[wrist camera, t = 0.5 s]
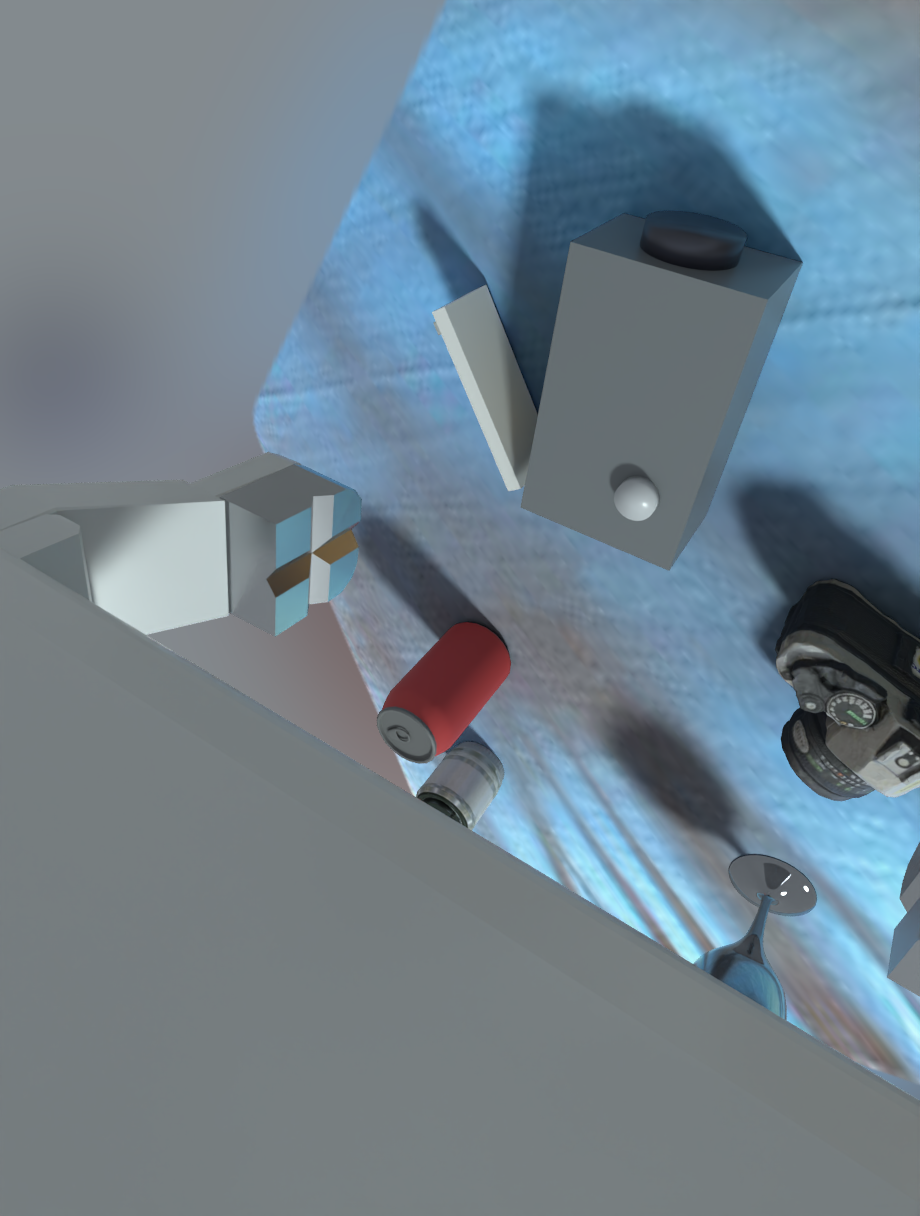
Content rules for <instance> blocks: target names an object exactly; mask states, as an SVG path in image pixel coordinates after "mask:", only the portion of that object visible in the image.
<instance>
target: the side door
mask: <svg viewBox="0 0 920 1216" xmlns="http://www.w3.org/2000/svg"><path fill="white" fill-rule="evenodd" d="M432 313H433V316H434V318H435V320H436V322H434V325H435V328H436V330H437V332H438V335H442V337H443V339H444V342H445V344H446V346H447V349H448V351H449V353H450V356H451V358H452V360H453V363H454V365H455V367H456V370H457V372H458V374H459V377H460V379H461V381H462V384H463V386H464V388H465V391H466V393H467V396H468V398H469V400H470V403H471V405H472V407H473V410H474V412H475V414H476V417H477V419H478V421H479V424H480V426H481V428H482V431H483V433H484V435H485V438H486V440H487V442H488V445H489V447H490V449H491V452H492V454H493V456H494V459H495V461H496V464H497V466H498V468H499V471H500V473H501V475H502V478H503V480H504V482H505V485H506V487H507V489H508V491H512V490H517V489H521V488H522V487H523V486H524V485H525V481H526V476H527V471H528V465H529V460H530V455H531V449H532V444H533V439H534V433H535V428H536V423H537V417H538V414H537V412H536V409H535V407H534V404H533V402H532V399H531V396H530V394H529V391H528V389H527V386H526V384H525V381H524V379H523V376H522V374H521V371H520V369H519V366H518V364H517V361H516V359H515V356H514V353H513V351H512V348H511V346H510V343H509V341H508V338H507V336H506V333H505V331H504V328H503V326H502V323H501V321H500V318H499V316H498V313H497V311H496V308H495V305H494V303H493V300H492V298H491V295H490V293H489V290H488V288H487V285H484V286H482V287H480V288H477V289H475V290H473V291H471V292H469V293H468V294H466V295H464V296H462V297H460V298H458V299H456V300H454V301H452V302H450V303H449V304H447V305H445V306H443V307H441V308H439V309H437V310H435V311H433V312H432Z"/></svg>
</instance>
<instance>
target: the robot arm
mask: <svg viewBox="0 0 920 1216" xmlns="http://www.w3.org/2000/svg"><path fill="white" fill-rule="evenodd" d="M361 502H362V499H361V498H360V496H359V495H358V493H357V492H356V490H354V489H352V488H350V487H348V486H346V485H344V484H342V483H339V482H337V481H335V480H333V479H331V478H329V477H327V476H325V475H323V474H320V473H318V472H316V471H314V470H312V469H310V468H308V467H306V466H302V465H301V464H299V463H298V462H295V461H293V460H291V459H288V458H286V457H284V456H281V455H279V454H275V453H270V452H267V453H265V454H262V455H260V456H257V457H255V458H253V459H250V460H247V461H245V462H242V463H240V464H237V465H235V466H232V467H230V468H227V469H225V470H223V471H220V472H218V473H215V474H213V475H210V476H208V477H205V478H203V479H200V480H198V481H195V482H193V483H188V482H185V481H183V480H165V481H134V482H100V483H71V484H70V483H68V484H37V485H11V486H8V487H5V488H2V489H0V1216H920V1100H918V1099H916V1098H915V1097H913V1096H911V1095H909V1094H908V1093H906V1092H905V1091H903V1090H901V1089H900V1088H898V1087H896V1086H895V1085H893V1084H891V1083H890V1082H888V1081H886V1080H884V1079H883V1078H881V1077H880V1076H878V1075H876V1074H875V1073H873V1072H871V1071H870V1070H868V1069H866V1068H865V1067H863V1066H861V1065H859V1064H858V1063H856V1062H854V1061H853V1060H851V1059H849V1058H848V1057H846V1056H844V1055H843V1054H841V1053H839V1052H838V1051H836V1050H834V1049H833V1048H831V1047H829V1046H828V1045H826V1044H824V1043H823V1042H821V1041H819V1040H818V1039H816V1038H814V1037H813V1036H811V1035H809V1034H808V1033H806V1032H804V1031H803V1030H801V1029H799V1028H798V1027H796V1026H794V1025H793V1024H791V1023H790V1022H788V1021H786V1020H785V1019H783V1018H781V1017H780V1016H778V1015H776V1014H775V1013H773V1012H771V1011H770V1010H768V1009H766V1008H765V1007H763V1006H761V1005H760V1004H758V1003H756V1002H755V1001H753V1000H751V999H750V998H748V997H746V996H745V995H743V994H742V993H740V992H738V991H737V990H735V989H733V988H732V987H730V986H728V985H727V984H725V983H723V982H722V981H720V980H718V979H717V978H715V977H713V976H712V975H710V974H708V973H707V972H705V971H703V970H702V969H700V968H698V967H697V966H695V965H693V964H692V963H690V962H689V961H687V960H685V959H684V958H682V957H680V956H679V955H677V954H675V953H674V952H672V951H670V950H669V949H667V948H665V947H664V946H662V945H660V944H659V943H657V942H655V941H654V940H652V939H650V938H649V937H647V936H645V935H644V934H642V933H640V932H639V931H637V930H636V929H634V928H632V927H631V926H629V925H627V924H626V923H624V922H622V921H621V920H619V919H617V918H616V917H614V916H612V915H611V914H609V913H607V912H606V911H604V910H602V909H601V908H599V907H597V906H596V905H594V904H592V903H591V902H589V901H588V900H586V899H584V898H583V897H581V896H579V895H578V894H576V893H574V892H573V891H571V890H569V889H568V888H566V887H564V886H563V885H561V884H559V883H558V882H556V881H554V880H553V879H551V878H549V877H548V876H546V875H544V874H543V873H541V872H539V871H538V870H536V869H535V868H533V867H531V866H530V865H528V864H526V863H525V862H523V861H521V860H520V859H518V858H516V857H515V856H513V855H511V854H510V853H508V852H506V851H505V850H503V849H501V848H500V847H498V846H496V845H495V844H493V843H491V842H490V841H488V840H486V839H485V838H483V837H481V836H480V835H478V834H476V833H475V832H473V831H471V830H470V829H468V828H466V827H465V826H463V825H461V824H460V823H458V822H456V821H455V820H453V819H451V818H450V817H448V816H446V815H445V814H443V813H441V812H440V811H438V810H436V809H435V808H433V807H431V806H430V805H428V804H426V803H425V802H423V801H421V800H420V799H418V798H416V797H415V796H413V795H411V794H410V793H408V792H406V791H405V790H403V789H401V788H400V787H398V786H396V785H395V784H393V783H391V782H390V781H388V780H386V779H384V778H383V777H381V776H380V775H378V774H376V773H375V772H373V771H371V770H369V769H368V768H366V767H365V766H363V765H361V764H360V763H358V762H356V761H355V760H353V759H351V758H350V757H348V756H346V755H345V754H343V753H341V752H340V751H338V750H336V749H335V748H333V747H331V746H330V745H328V744H326V743H325V742H323V741H322V740H320V739H318V738H316V737H315V736H313V735H311V734H310V733H308V732H306V731H305V730H303V729H301V728H300V727H298V726H297V725H295V724H293V723H291V722H290V721H288V720H286V719H285V718H283V717H281V716H280V715H278V714H277V713H275V712H273V711H272V710H270V709H268V708H266V707H265V706H263V705H262V704H260V703H258V702H257V701H255V700H253V699H252V698H250V697H248V696H246V695H245V694H243V693H242V692H240V691H238V690H237V689H235V688H233V687H232V686H230V685H228V684H227V683H225V682H223V681H222V680H220V679H219V678H217V677H215V676H214V675H212V674H210V673H209V672H207V671H205V670H204V669H202V668H200V667H199V666H197V665H195V664H194V663H192V662H190V661H188V660H187V659H185V658H184V657H182V656H180V655H179V654H177V653H175V652H174V651H172V650H170V649H169V648H167V647H165V646H164V645H162V644H160V643H159V642H157V641H155V640H154V639H152V638H151V637H149V636H147V634H152V633H156V632H160V631H165V630H169V629H173V628H177V627H182V626H186V625H190V624H195V623H199V622H203V621H207V620H212V619H216V618H221V617H225V616H228V615H229V613H230V614H232V615H234V616H236V617H238V618H240V619H242V620H244V621H246V622H248V623H250V624H252V625H254V626H256V627H257V628H259V629H262V630H263V631H265V632H267V633H269V634H271V635H273V636H277V635H278V634H280V633H281V632H283V631H285V630H286V629H288V628H289V627H290V626H292V625H294V624H295V623H297V622H298V621H300V620H301V619H303V618H304V617H306V616H307V614H308V608H309V604H316V603H323V602H329V601H330V600H331V599H333V598H334V597H336V596H337V595H338V594H340V593H341V592H342V591H343V589H344V588H345V587H346V585H347V584H348V582H349V581H350V580H351V578H352V576H353V573H354V570H355V567H356V564H357V559H358V549H359V547H358V544H357V542H356V540H355V537H354V535H353V533H352V530H351V529H352V528H354V527H355V526H356V525H357V524H358V523H359V522H360V521H361ZM900 900H901V902H902V904H903V906H904V907H905V909H906V911H907V914H906V915H905V916H904V918H903V919H902V920H901V921H900V923H899V924H898V925H897V926H896V928H895V929H894V935H893V942H892V948H891V955H890V961H889V968H888V974H887V978H889V979H891V980H892V981H894V982H896V983H898V984H899V985H901V986H903V987H904V988H906V989H908V990H910V991H911V992H913V993H915V994H916V995H918V996H920V843H919V844H918V846H917V848H916V850H915V852H914V854H913V856H912V858H911V860H910V862H909V864H908V867H907V870H906V873H905V876H904V879H903V883H902V888H901V893H900Z"/></svg>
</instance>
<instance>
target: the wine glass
mask: <svg viewBox="0 0 920 1216" xmlns="http://www.w3.org/2000/svg"><path fill="white" fill-rule="evenodd" d="M729 877H730V880H731V883H732V884H733V886H734V888H735V889H736V890H737V891H738V893H739V894H740V895H741V896H743V897H744V898H745V899H746V900H747V901H749V902H750V903H752V904H753V905H755V906H757V907H759V909H758V912H757V914H756V917H755V919H754V921H753V923H752V925H751V927H750V928H749V930H748V932H747V933H746V935H745V936H744V937H743V938H742V939H740V940H739V941H737V942H735V943H733V944H729V945H726V946H723V947H719V948H715V949H713V950H710V951H708V952H706V953H704V954H703V955H702V956H701V957H700V958H699V959H698V960H697V961H696V962H695V963H694V964H693V965H695V966H697V967H698V968H700V969H702V970H703V971H705V972H707V973H708V974H710V975H712V976H713V977H715V978H717V979H718V980H720V981H722V982H723V983H725V984H727V985H728V986H730V987H732V988H733V989H735V990H737V991H738V992H740V993H742V994H743V995H745V996H746V997H748V998H750V999H751V1000H753V1001H755V1002H756V1003H758V1004H760V1005H761V1006H763V1007H765V1008H766V1009H768V1010H770V1011H771V1012H773V1013H775V1014H776V1015H778V1016H780V1017H781V1018H783V1019H785V1020H786V1000H785V993H784V990H783V988H782V985H781V983H780V980H779V979H778V977H777V975H776V973H775V972H774V970H773V968H772V966H771V965H770V963H769V961H768V959H767V957H766V955H765V952H764V948H763V936H764V929H765V923H766V919H767V915H768V912H770V913H774V914H777V915H782V916H800V915H804V914H806V913H808V912H810V911H811V910H812V909H813V908H814V907H815V905H816V902H817V895H816V892H815V889H814V887H813V885H812V884H811V882H810V881H809V880H808V879H807V878H806V877H805V876H804V875H803V874H802V873H801V872H800V871H798V870H797V869H795V868H794V867H792V866H791V865H789V864H787V863H785V862H783V861H781V860H778V859H775V858H772V857H768V856H764V855H745V856H741V857H739V858H737V859H735V860H734V861H733V862H732V863H731V865H730V867H729Z"/></svg>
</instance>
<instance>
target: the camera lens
mask: <svg viewBox="0 0 920 1216" xmlns="http://www.w3.org/2000/svg"><path fill="white" fill-rule="evenodd" d="M503 778H504V769H503V766H502V764H501V762H500V760H499V759H498V758H497V757H496V755H495V754H494V753H493V752H491V751H490V750H489V749H487V748H486V747H484V746H483V745H480V744H478V743H475V742H463V743H460V744H459V745H458V746H457V747H455V748H453V749H452V750H451V751H450V752H449V753H448V754H447V755H446V756H445V757H444V758H443V760H442V762H441V763H440V764H439V765H438V766H437V768H436V769H435V770H434V772H433V773H432V774H431V775H430V777H429V778H428V779H427V781H426V782H425V783H424V784H423V786H421V788H420V789H419V790H418V792H417V795H416V798H418V799H420V800H421V801H423V802H425V803H426V804H428V805H430V806H431V807H433V808H435V809H436V810H438V811H440V812H441V813H443V814H445V815H446V816H448V817H450V818H451V819H453V820H455V821H456V822H458V823H460V824H461V825H463V826H465V827H466V828H468V829H470V830H471V831H472V829H473V828H474V826H475V825H476V824H477V822H478V821H479V819H480V818H481V816H482V815H483V813H484V812H485V810H486V809H487V808H488V806H489V805H490V803H491V802H492V800H493V799H494V798H495V796H496V795H497V793H498V790H499V788H500V786H501V784H502V780H503Z"/></svg>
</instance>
